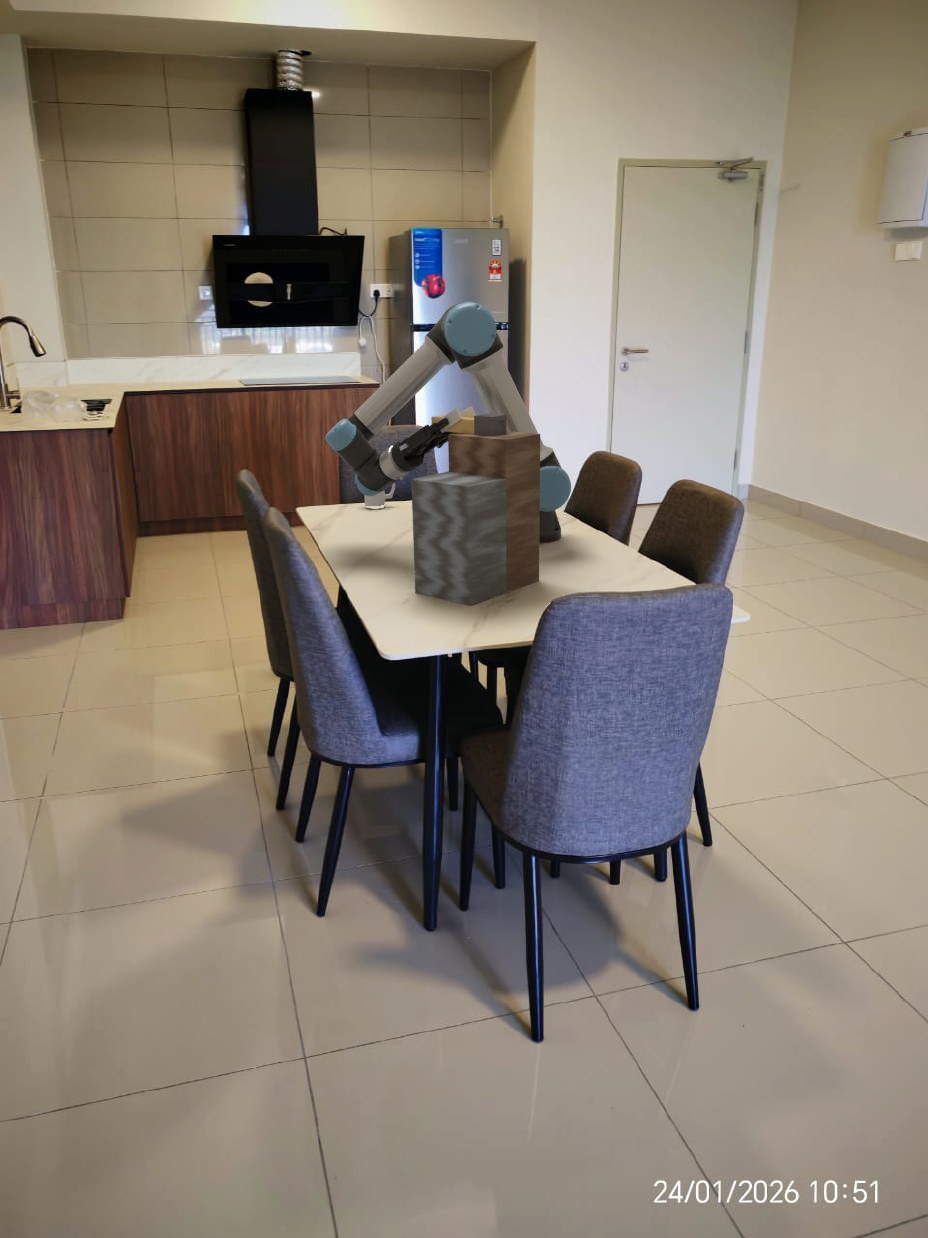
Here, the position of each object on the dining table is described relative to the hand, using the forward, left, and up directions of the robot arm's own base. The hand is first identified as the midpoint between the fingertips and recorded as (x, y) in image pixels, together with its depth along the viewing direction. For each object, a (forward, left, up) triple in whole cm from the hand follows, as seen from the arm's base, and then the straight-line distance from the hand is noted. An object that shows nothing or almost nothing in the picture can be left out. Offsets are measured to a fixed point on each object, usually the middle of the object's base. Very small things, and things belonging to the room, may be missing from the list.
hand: (466, 412), depth 204 cm
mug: (-86, +1, -37) cm, 94 cm away
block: (0, 0, -4) cm, 4 cm away
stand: (+10, -1, -37) cm, 38 cm away
